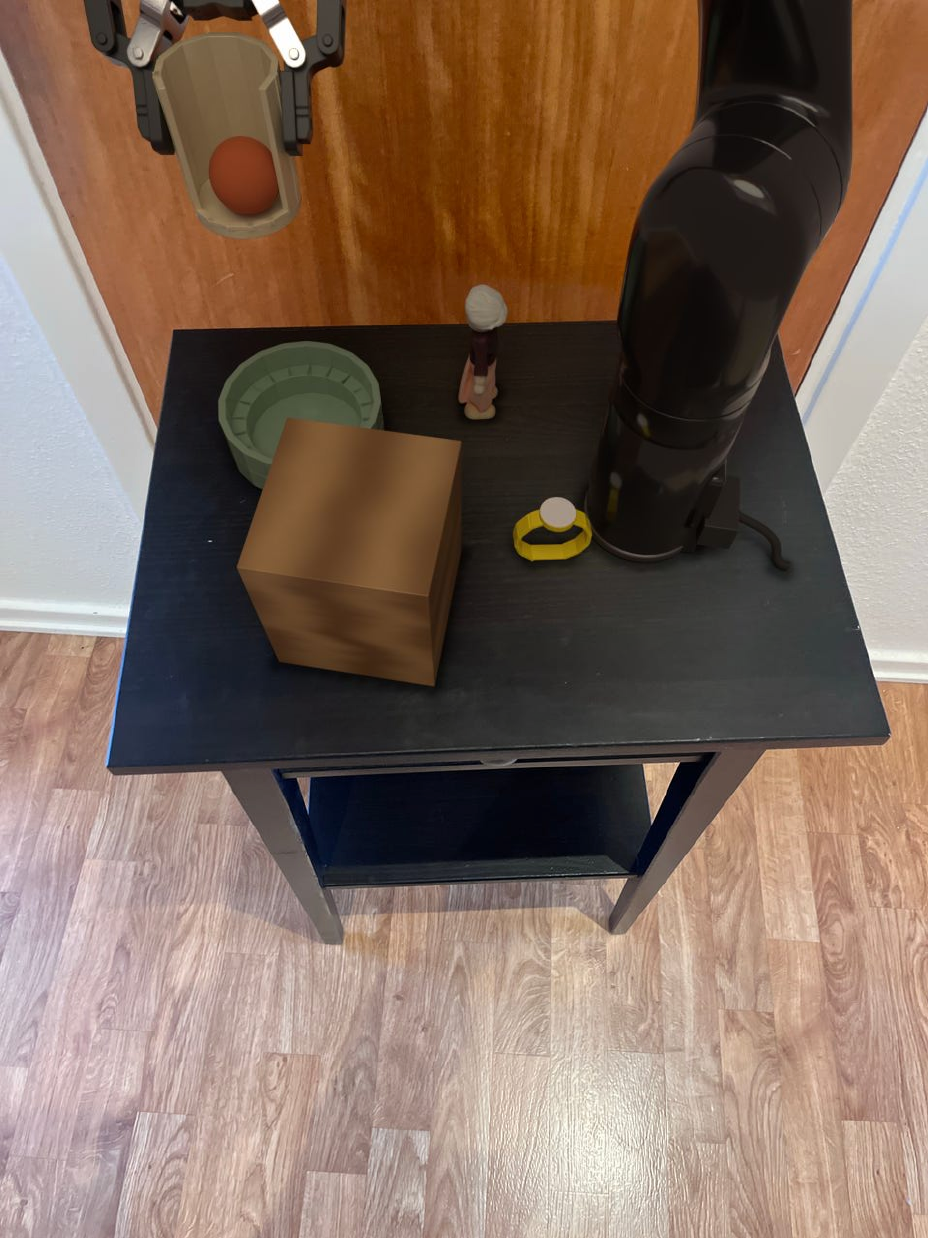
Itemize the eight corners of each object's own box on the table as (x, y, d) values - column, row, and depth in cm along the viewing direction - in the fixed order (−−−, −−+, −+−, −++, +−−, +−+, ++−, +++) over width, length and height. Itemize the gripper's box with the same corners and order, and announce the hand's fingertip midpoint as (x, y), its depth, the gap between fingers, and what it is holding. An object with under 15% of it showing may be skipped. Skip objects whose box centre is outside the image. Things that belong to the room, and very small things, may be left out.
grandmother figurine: (456, 373, 78) (456, 257, 67) (498, 372, 79) (505, 256, 67) (460, 440, 75) (460, 330, 64) (504, 438, 75) (511, 328, 64)
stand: (461, 551, 70) (461, 440, 57) (434, 686, 64) (428, 596, 52) (317, 530, 71) (286, 416, 58) (278, 662, 65) (236, 567, 53)
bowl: (398, 392, 77) (394, 351, 73) (366, 512, 71) (360, 476, 67) (256, 373, 78) (244, 332, 74) (213, 490, 72) (197, 453, 68)
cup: (306, 168, 53) (283, 31, 46) (298, 240, 51) (272, 106, 43) (201, 168, 53) (162, 31, 46) (187, 240, 50) (143, 106, 43)
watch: (513, 571, 69) (518, 530, 64) (510, 541, 70) (514, 499, 65) (587, 565, 69) (598, 524, 64) (582, 536, 70) (592, 494, 65)
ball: (296, 182, 51) (290, 148, 47) (261, 238, 51) (253, 210, 47) (237, 143, 51) (226, 106, 47) (202, 200, 51) (188, 168, 47)
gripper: (16, -281, 38) (69, 137, 44) (337, -278, 39) (352, 138, 44) (84, -184, 46) (122, 166, 51) (355, -182, 46) (366, 166, 51)
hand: (229, 152), depth 47 cm, fingers closed on cup, 6 cm apart
